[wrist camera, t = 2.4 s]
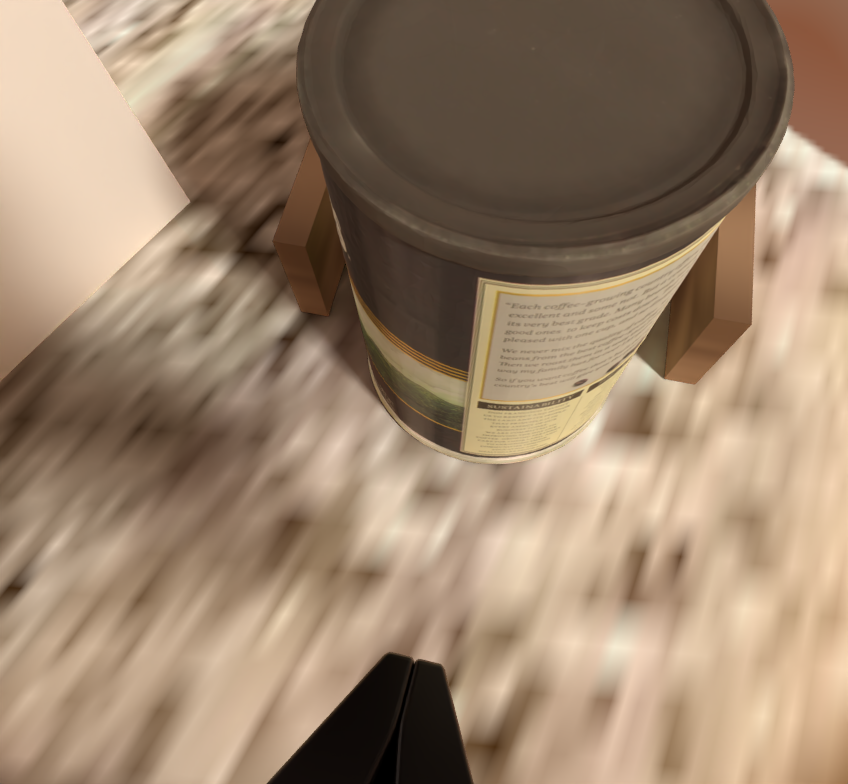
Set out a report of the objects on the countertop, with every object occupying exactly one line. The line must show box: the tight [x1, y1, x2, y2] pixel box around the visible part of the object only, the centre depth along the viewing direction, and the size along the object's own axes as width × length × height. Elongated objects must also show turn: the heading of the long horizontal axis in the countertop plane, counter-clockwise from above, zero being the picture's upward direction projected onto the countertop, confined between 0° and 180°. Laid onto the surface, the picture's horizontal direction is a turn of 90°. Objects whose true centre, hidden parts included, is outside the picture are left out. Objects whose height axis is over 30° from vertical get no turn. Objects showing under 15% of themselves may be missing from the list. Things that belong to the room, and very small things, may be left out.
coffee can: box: [296, 0, 794, 464], centre depth 20 cm, size 10×10×14 cm
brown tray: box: [273, 138, 756, 384], centre depth 27 cm, size 14×16×5 cm
